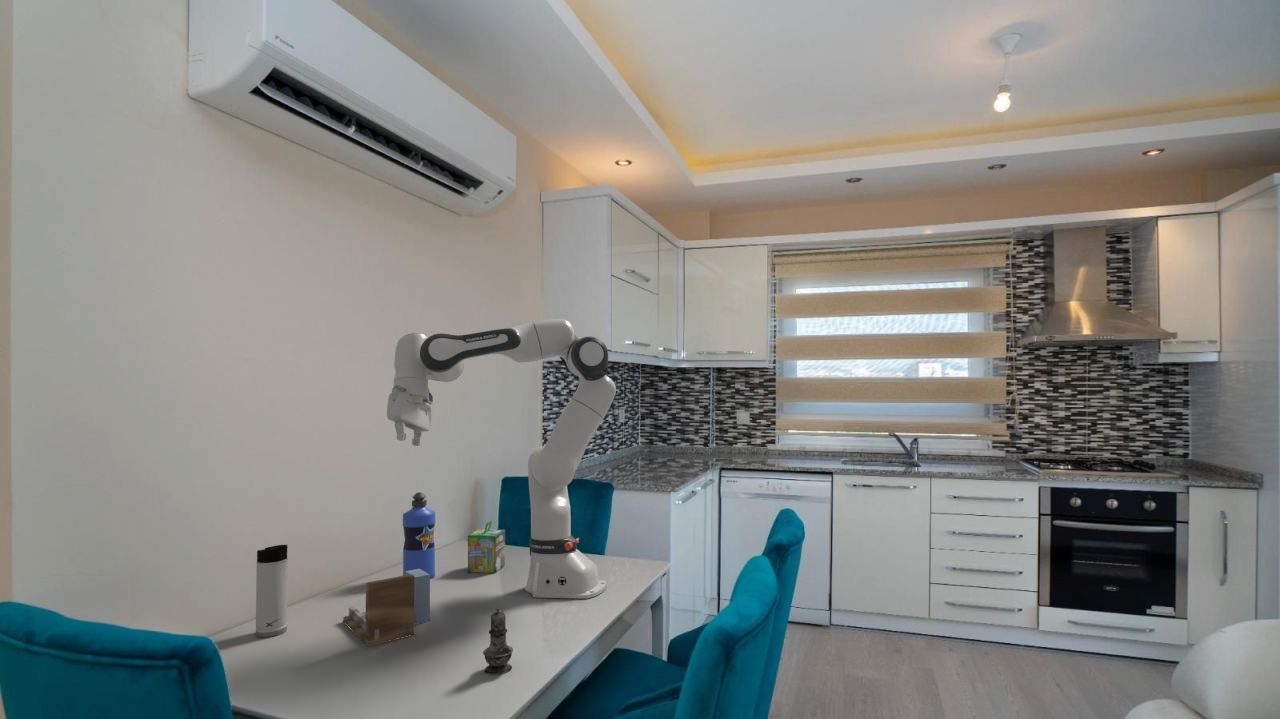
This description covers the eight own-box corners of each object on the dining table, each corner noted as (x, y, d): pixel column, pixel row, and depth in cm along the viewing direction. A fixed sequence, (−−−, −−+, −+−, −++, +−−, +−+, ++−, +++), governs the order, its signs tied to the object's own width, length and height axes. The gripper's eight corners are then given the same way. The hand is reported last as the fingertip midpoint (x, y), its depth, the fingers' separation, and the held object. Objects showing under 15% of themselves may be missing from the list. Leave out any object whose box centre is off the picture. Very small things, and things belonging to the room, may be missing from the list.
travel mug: (274, 638, 145) (275, 548, 146) (248, 637, 146) (250, 548, 147) (294, 628, 151) (295, 542, 152) (269, 627, 152) (271, 541, 153)
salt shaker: (485, 663, 130) (485, 603, 130) (515, 662, 130) (514, 602, 131) (480, 676, 124) (480, 613, 124) (511, 674, 124) (511, 611, 125)
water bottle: (442, 575, 193) (442, 491, 194) (416, 583, 185) (416, 496, 186) (421, 571, 198) (421, 489, 199) (395, 579, 190) (396, 494, 191)
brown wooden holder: (343, 621, 155) (343, 566, 155) (385, 612, 161) (385, 559, 162) (368, 646, 139) (368, 584, 140) (414, 634, 146) (414, 575, 146)
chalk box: (478, 565, 204) (477, 518, 205) (505, 565, 203) (505, 518, 204) (466, 573, 195) (466, 524, 196) (495, 573, 194) (495, 524, 195)
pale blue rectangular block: (405, 616, 158) (405, 571, 158) (419, 613, 160) (419, 568, 161) (415, 624, 152) (415, 577, 153) (429, 620, 155) (429, 574, 155)
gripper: (405, 381, 163) (403, 435, 159) (436, 399, 183) (435, 447, 179) (381, 383, 163) (378, 437, 159) (414, 401, 183) (413, 449, 179)
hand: (408, 443), depth 169 cm, fingers open, 8 cm apart
